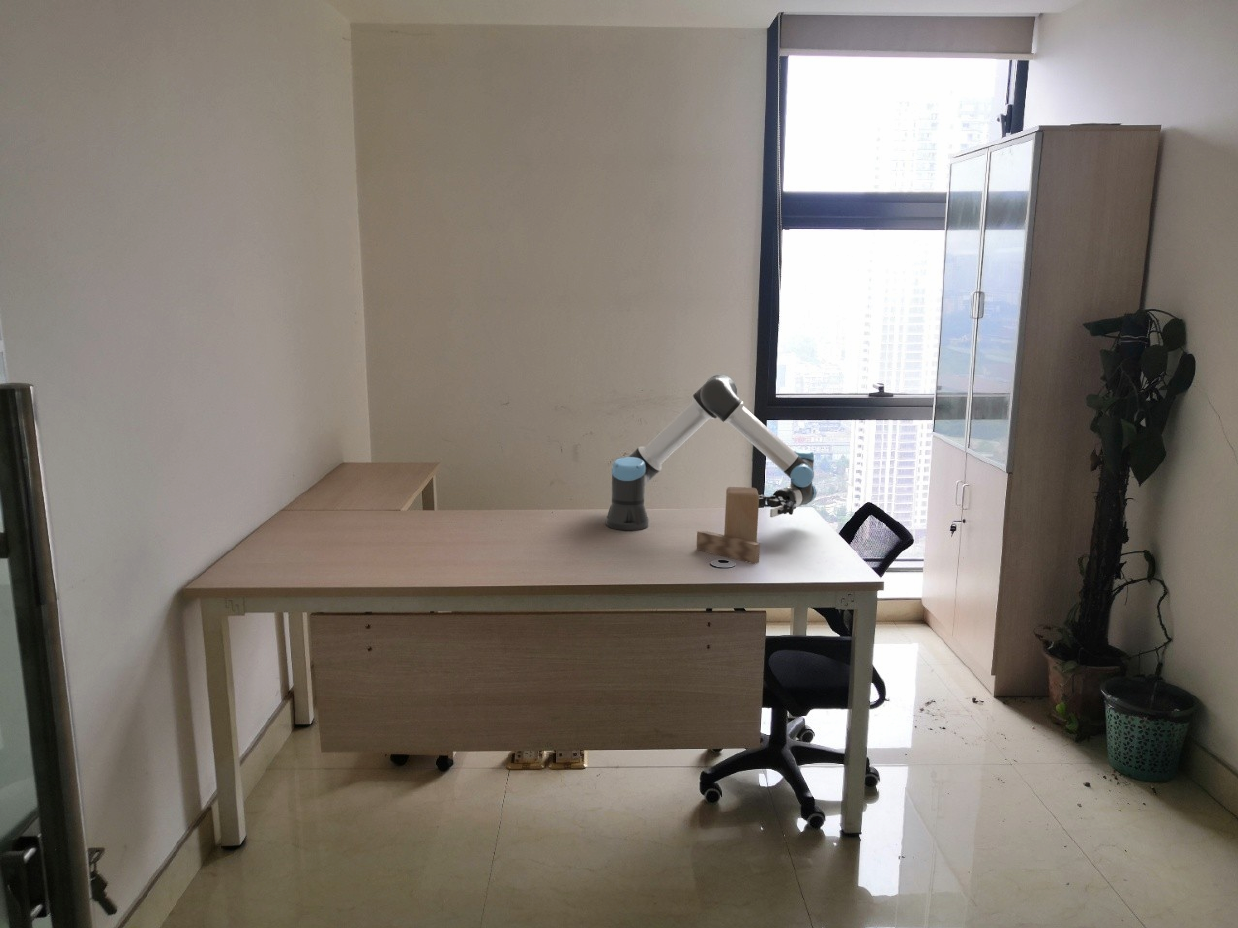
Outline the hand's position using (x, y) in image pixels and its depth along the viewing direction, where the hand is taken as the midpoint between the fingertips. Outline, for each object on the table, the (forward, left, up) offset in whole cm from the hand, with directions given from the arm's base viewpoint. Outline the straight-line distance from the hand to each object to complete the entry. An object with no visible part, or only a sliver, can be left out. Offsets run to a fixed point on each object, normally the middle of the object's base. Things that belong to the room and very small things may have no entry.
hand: (753, 509), depth 294 cm
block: (0, -7, -13) cm, 14 cm away
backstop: (0, -15, -12) cm, 20 cm away
